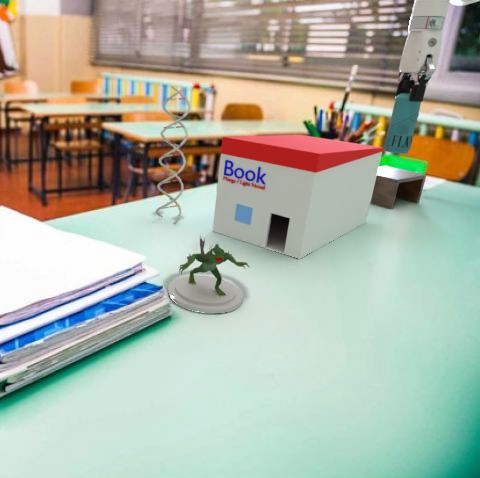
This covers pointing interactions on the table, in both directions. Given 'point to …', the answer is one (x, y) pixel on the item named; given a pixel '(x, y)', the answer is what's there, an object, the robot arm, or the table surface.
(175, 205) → the dna model
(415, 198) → the shelf
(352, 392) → the table surface
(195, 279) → the monster figurine
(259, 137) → the bookstore
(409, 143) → the beverage bottle
